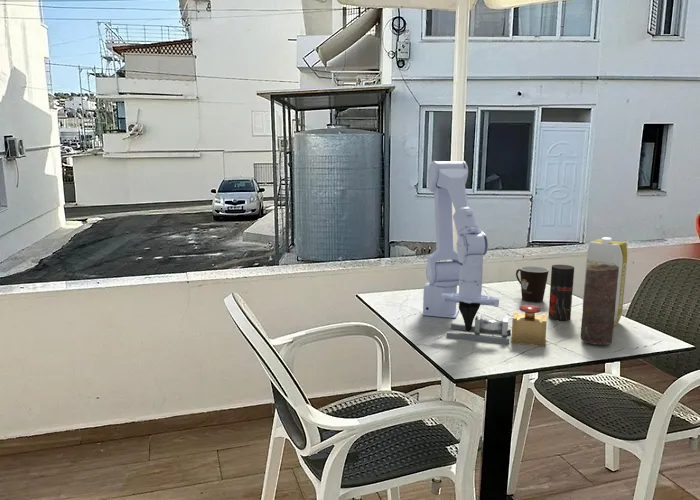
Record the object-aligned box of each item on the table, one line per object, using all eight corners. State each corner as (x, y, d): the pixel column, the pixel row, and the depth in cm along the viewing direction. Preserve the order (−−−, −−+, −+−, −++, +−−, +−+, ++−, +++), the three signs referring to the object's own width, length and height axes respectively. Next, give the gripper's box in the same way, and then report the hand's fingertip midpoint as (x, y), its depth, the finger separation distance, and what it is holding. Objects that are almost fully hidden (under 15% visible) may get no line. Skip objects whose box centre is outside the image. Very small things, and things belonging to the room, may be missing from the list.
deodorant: (572, 322, 158) (576, 269, 155) (549, 320, 159) (553, 268, 156) (568, 315, 163) (572, 265, 160) (546, 314, 164) (550, 264, 162)
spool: (474, 338, 145) (475, 319, 144) (475, 331, 149) (476, 313, 149) (506, 341, 142) (507, 322, 141) (507, 334, 147) (508, 316, 146)
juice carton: (578, 321, 158) (585, 236, 153) (589, 315, 164) (596, 233, 159) (613, 329, 152) (622, 241, 147) (623, 322, 157) (631, 237, 153)
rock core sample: (609, 351, 136) (616, 269, 132) (577, 345, 140) (583, 266, 136) (614, 341, 142) (621, 263, 138) (582, 336, 146) (589, 260, 142)
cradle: (446, 337, 145) (446, 332, 145) (451, 327, 153) (451, 323, 153) (508, 343, 141) (509, 339, 140) (510, 333, 148) (510, 329, 148)
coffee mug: (550, 303, 175) (552, 272, 174) (522, 303, 176) (524, 272, 174) (538, 293, 187) (540, 264, 185) (512, 293, 187) (514, 264, 185)
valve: (511, 342, 141) (513, 309, 140) (512, 334, 147) (514, 302, 146) (545, 346, 139) (547, 312, 137) (544, 338, 145) (547, 305, 143)
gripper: (439, 281, 143) (438, 332, 146) (498, 285, 139) (495, 338, 141) (444, 275, 150) (442, 324, 153) (500, 279, 145) (498, 329, 148)
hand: (468, 330), depth 147 cm, fingers closed
